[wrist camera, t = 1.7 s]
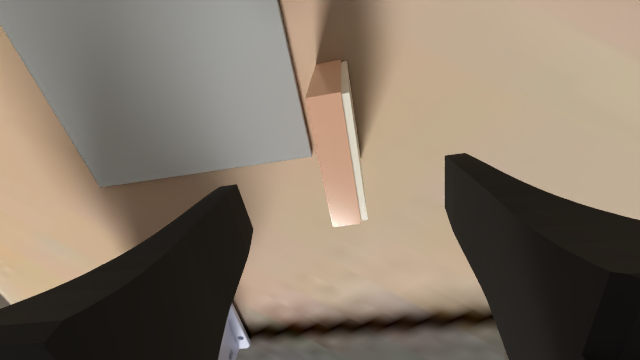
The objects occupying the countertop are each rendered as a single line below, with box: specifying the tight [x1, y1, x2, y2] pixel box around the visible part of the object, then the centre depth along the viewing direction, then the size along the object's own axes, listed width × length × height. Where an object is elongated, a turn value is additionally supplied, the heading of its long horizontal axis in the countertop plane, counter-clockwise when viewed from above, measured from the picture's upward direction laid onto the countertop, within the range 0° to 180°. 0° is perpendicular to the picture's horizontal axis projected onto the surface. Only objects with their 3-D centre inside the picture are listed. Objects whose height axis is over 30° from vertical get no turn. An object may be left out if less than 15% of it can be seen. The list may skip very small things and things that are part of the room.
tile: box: [305, 60, 368, 227], centre depth 16 cm, size 6×2×6 cm, turn 11°
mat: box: [0, 0, 312, 188], centre depth 17 cm, size 14×14×1 cm
